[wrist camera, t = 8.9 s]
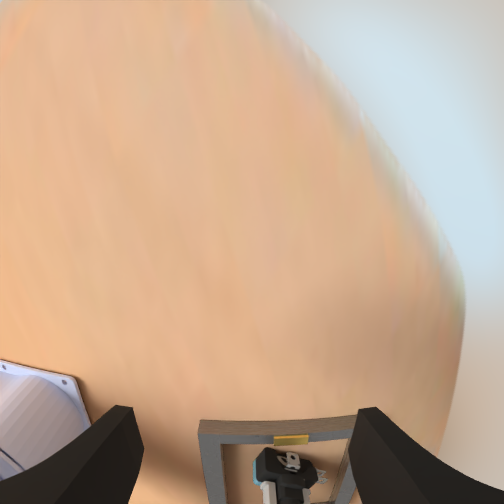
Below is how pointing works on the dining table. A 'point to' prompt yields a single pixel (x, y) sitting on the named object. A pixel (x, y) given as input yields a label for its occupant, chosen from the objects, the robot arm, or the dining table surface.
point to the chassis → (279, 435)
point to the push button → (285, 477)
